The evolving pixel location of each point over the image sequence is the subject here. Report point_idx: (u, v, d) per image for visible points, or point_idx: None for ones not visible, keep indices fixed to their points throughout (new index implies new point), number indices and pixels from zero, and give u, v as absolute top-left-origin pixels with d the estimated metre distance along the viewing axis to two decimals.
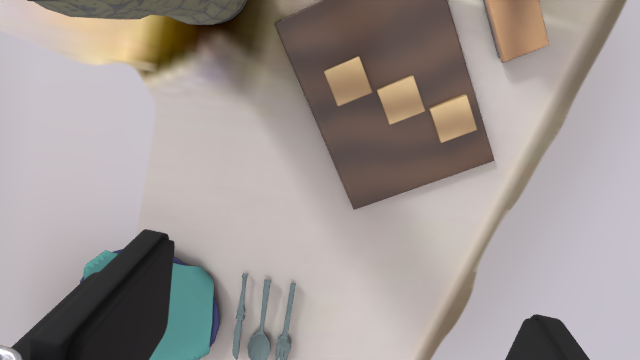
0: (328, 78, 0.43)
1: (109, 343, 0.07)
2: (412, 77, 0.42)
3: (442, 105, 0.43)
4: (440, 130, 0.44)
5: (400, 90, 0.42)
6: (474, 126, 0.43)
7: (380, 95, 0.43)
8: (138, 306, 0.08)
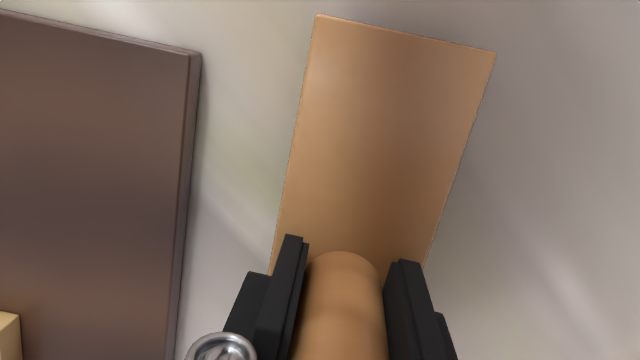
0: None
1: None
2: None
3: None
4: None
5: None
6: None
7: None
8: None
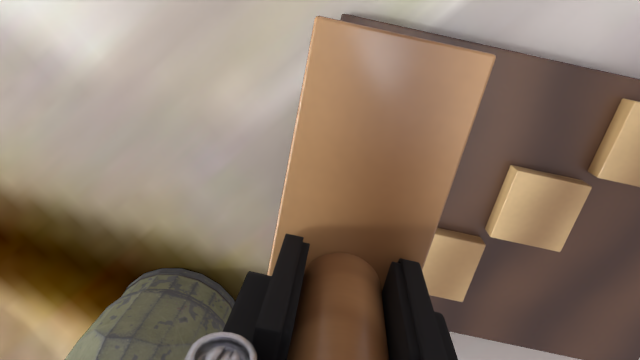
0: None
1: None
2: (518, 173, 0.21)
3: (611, 153, 0.20)
4: None
5: (522, 204, 0.21)
6: None
7: (501, 237, 0.22)
8: None
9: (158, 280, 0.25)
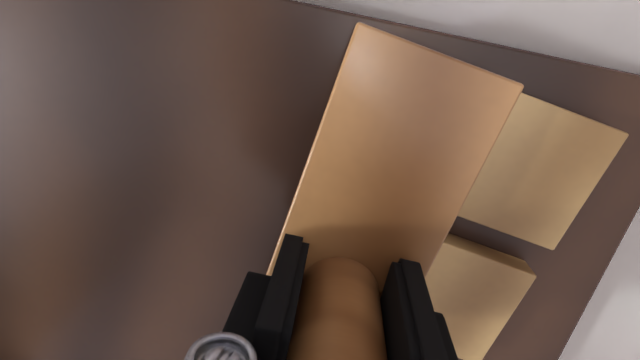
0: None
1: None
2: None
3: None
4: (519, 226, 0.12)
5: None
6: (611, 134, 0.11)
7: None
8: None
9: None
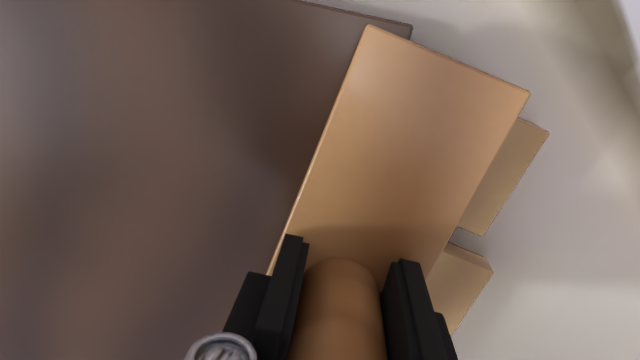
0: None
1: None
2: None
3: None
4: None
5: None
6: (534, 132, 0.12)
7: None
8: None
9: None
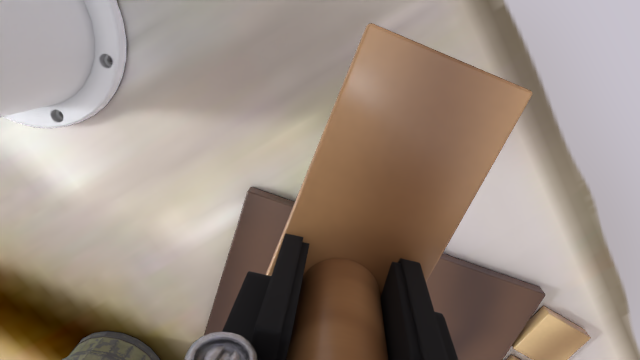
0: None
1: None
2: None
3: (526, 337, 0.31)
4: None
5: None
6: (584, 336, 0.30)
7: None
8: None
9: (102, 342, 0.34)
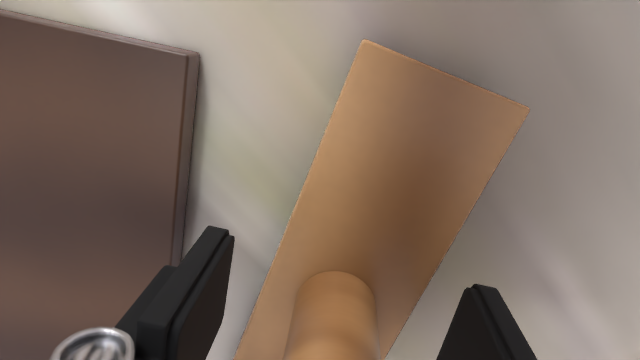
0: None
1: (193, 328, 0.08)
2: None
3: None
4: None
5: None
6: None
7: None
8: (211, 295, 0.09)
9: None
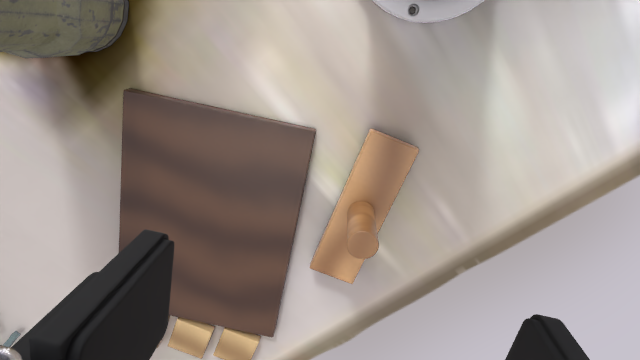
0: None
1: (109, 343, 0.07)
2: (210, 332, 0.43)
3: (235, 334, 0.43)
4: (220, 347, 0.44)
5: (194, 333, 0.43)
6: None
7: (176, 324, 0.43)
8: (138, 306, 0.08)
9: None
